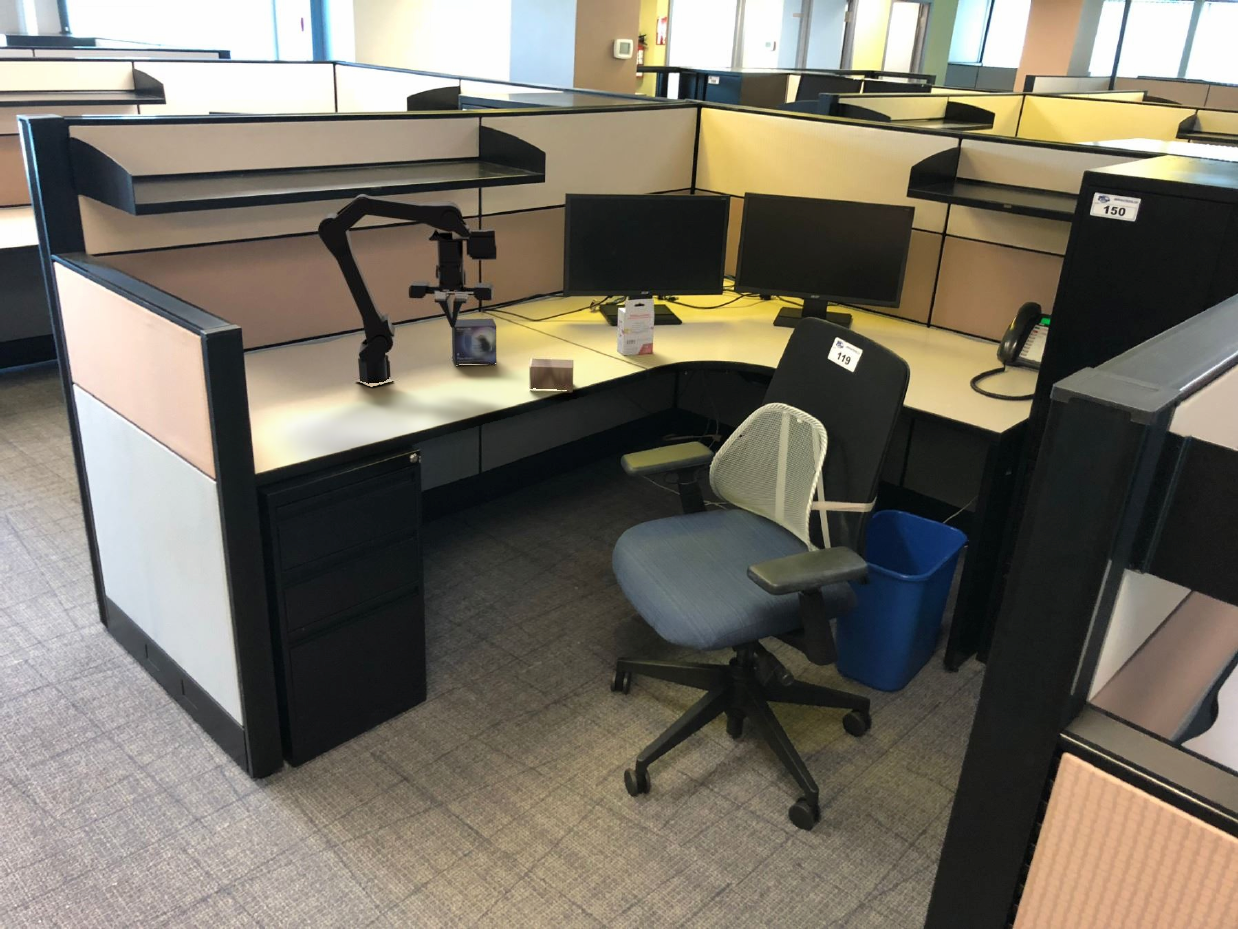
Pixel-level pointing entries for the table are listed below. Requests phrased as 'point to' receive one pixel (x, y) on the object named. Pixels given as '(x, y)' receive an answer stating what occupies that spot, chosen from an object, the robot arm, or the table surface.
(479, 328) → the small box
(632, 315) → the ink cartridge box
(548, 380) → the walnut block
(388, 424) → the table surface
